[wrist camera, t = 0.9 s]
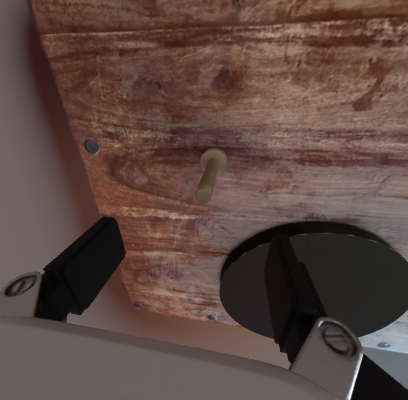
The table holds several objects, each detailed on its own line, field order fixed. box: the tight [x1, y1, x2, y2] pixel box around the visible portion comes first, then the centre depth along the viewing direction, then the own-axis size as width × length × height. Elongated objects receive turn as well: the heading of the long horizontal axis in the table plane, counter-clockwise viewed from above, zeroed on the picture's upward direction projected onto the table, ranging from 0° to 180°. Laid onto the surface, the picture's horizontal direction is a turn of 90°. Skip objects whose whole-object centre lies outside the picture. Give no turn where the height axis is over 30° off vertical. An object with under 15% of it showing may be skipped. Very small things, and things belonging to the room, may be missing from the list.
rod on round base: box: [195, 148, 228, 203], centre depth 19 cm, size 4×4×10 cm
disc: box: [219, 221, 408, 339], centre depth 32 cm, size 30×30×3 cm
